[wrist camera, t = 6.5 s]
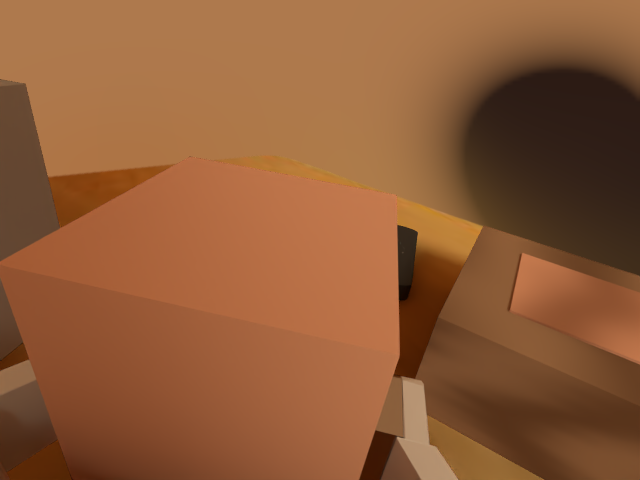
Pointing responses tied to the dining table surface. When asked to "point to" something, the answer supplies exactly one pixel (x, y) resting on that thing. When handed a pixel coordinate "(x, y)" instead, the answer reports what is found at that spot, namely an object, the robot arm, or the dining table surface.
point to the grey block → (20, 193)
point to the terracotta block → (215, 326)
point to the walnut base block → (540, 360)
